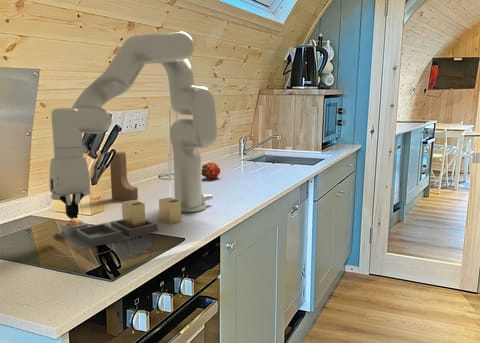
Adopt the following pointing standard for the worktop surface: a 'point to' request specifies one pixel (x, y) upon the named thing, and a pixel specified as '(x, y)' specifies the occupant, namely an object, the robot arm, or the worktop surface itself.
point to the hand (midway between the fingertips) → (72, 217)
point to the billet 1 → (133, 213)
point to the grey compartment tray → (103, 232)
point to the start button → (73, 222)
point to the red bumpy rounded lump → (210, 170)
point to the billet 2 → (170, 210)
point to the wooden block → (121, 179)
